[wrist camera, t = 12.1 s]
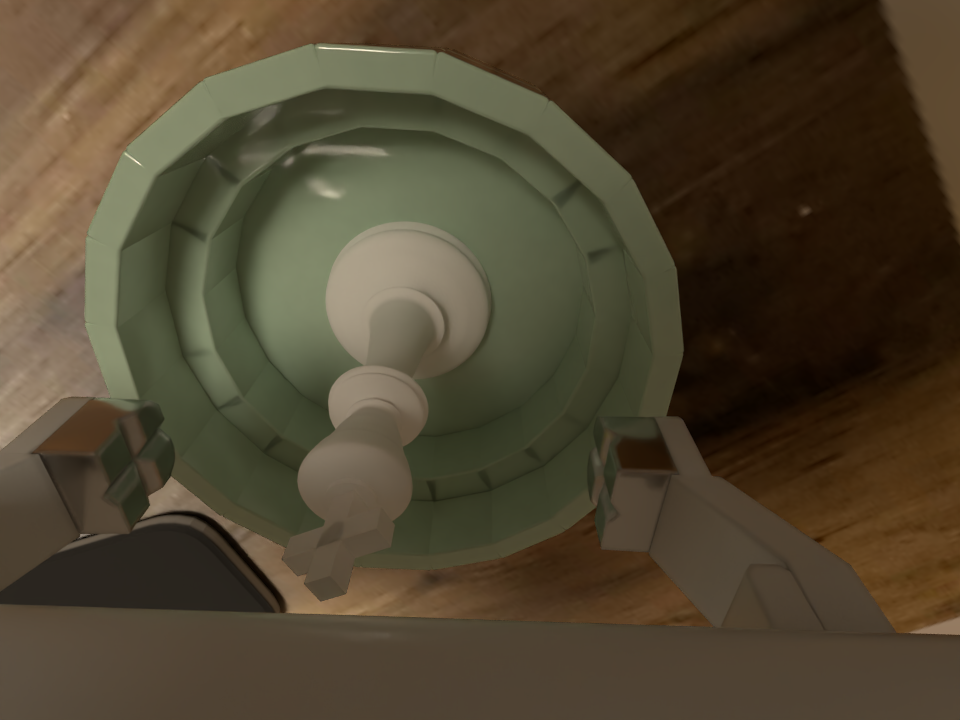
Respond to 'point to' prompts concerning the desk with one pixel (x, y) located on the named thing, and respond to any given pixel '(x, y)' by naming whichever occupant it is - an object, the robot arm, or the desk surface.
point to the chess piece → (383, 386)
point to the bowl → (308, 262)
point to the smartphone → (147, 572)
